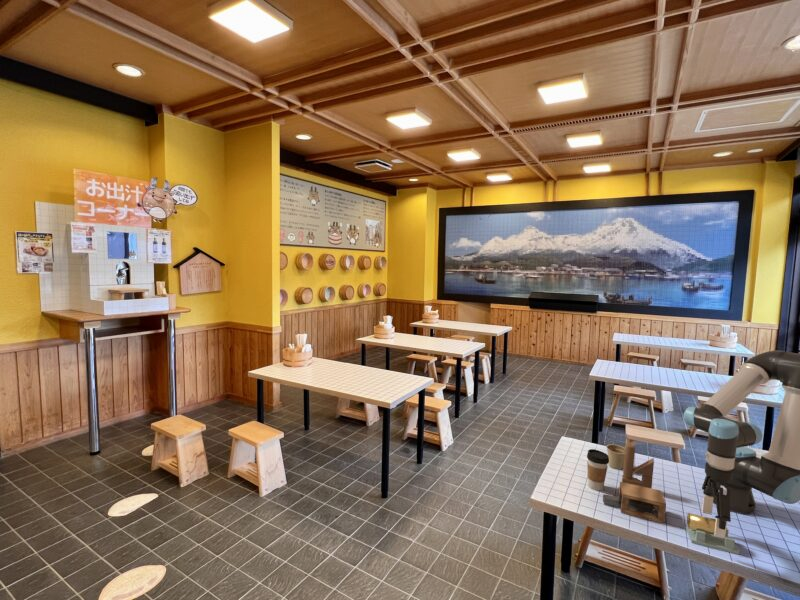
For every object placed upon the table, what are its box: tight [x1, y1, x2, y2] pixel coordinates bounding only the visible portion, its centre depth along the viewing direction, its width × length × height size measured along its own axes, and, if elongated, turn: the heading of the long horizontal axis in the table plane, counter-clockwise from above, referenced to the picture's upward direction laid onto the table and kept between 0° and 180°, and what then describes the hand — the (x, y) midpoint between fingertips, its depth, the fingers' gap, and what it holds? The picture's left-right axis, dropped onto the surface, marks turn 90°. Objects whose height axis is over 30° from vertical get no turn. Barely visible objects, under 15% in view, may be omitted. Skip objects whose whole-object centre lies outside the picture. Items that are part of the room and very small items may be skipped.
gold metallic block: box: [686, 512, 728, 536], centre depth 138 cm, size 10×5×5 cm, turn 67°
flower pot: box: [605, 444, 625, 470], centre depth 188 cm, size 9×9×9 cm
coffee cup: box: [586, 448, 609, 492], centre depth 169 cm, size 8×8×15 cm
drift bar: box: [602, 494, 655, 515], centre depth 156 cm, size 17×3×3 cm, turn 73°
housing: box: [618, 481, 667, 524], centre depth 154 cm, size 14×9×8 cm
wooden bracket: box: [621, 443, 655, 489], centre depth 169 cm, size 4×11×18 cm, turn 60°
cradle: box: [685, 525, 740, 555], centre depth 138 cm, size 13×8×4 cm, turn 67°
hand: (712, 524), depth 137 cm, fingers open, 13 cm apart
